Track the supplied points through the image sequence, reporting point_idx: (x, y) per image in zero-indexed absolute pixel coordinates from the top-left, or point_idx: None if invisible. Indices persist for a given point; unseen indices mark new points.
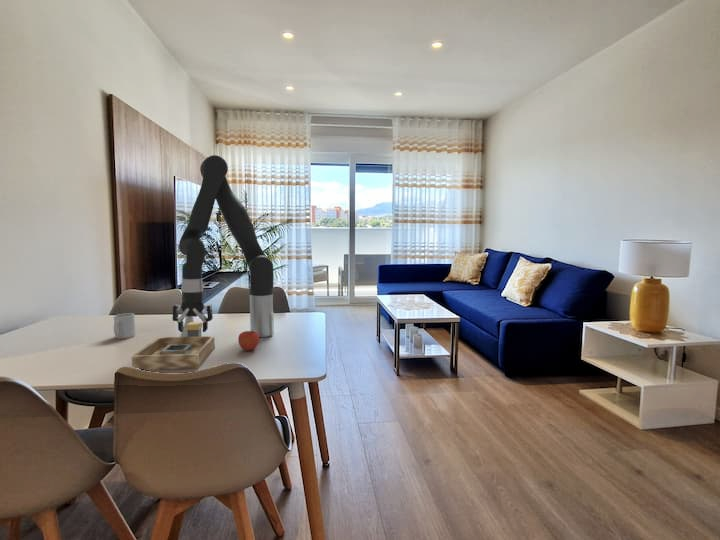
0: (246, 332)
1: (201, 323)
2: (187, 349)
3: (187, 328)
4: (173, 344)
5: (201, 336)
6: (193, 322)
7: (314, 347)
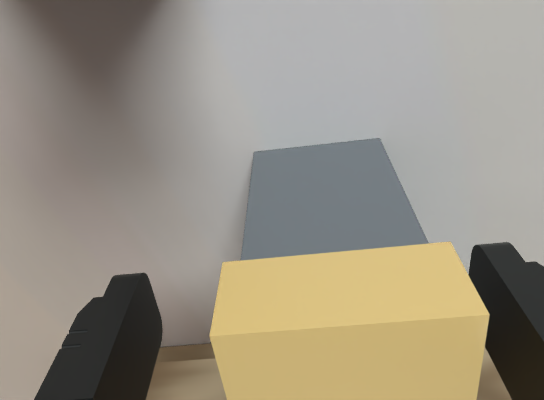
0: None
1: (474, 331)
2: None
3: None
4: None
5: (395, 173)
6: (307, 360)
7: None
